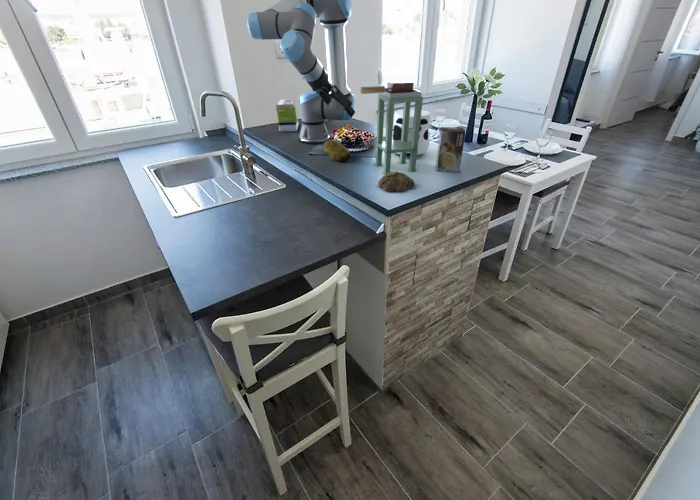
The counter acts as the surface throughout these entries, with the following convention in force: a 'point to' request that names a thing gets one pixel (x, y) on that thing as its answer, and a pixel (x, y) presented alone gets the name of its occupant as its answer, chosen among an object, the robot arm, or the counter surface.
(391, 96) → the steel pan
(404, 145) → the shelf stand
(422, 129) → the milk container
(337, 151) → the potato
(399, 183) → the bread roll
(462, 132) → the coffee box
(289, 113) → the tea box
